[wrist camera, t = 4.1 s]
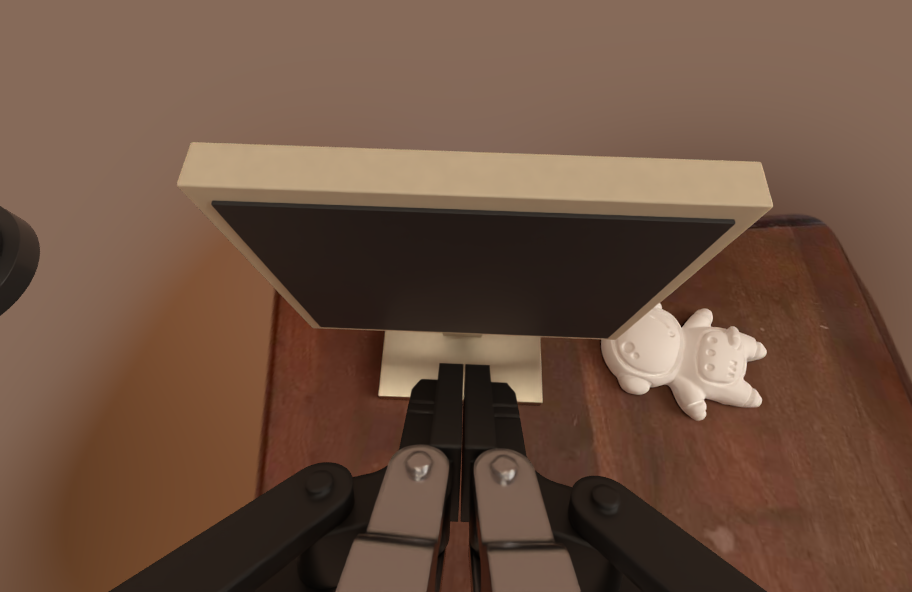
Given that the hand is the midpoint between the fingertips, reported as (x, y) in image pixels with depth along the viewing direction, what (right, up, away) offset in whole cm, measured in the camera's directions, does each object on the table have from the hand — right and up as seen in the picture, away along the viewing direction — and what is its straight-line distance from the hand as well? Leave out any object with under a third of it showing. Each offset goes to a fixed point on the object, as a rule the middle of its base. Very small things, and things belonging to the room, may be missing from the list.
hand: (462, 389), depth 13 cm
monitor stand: (0, -1, +21) cm, 21 cm away
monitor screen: (0, +1, +12) cm, 12 cm away
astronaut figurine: (+17, -2, +21) cm, 27 cm away
